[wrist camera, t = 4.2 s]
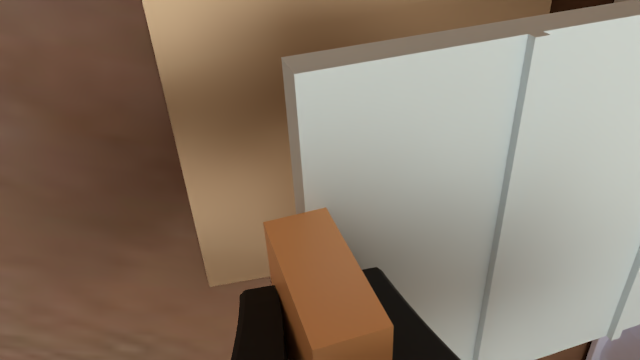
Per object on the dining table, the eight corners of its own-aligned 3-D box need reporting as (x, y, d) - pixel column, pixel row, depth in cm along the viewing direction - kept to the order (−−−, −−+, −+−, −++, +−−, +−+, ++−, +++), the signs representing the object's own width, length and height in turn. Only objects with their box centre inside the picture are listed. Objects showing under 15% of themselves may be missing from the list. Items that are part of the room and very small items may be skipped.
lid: (854, -37, 12) (1104, 6, 9) (702, 278, 17) (826, 371, 14) (234, 65, 9) (297, 185, 6) (285, 414, 14) (331, 571, 11)
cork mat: (503, 228, 22) (507, 234, 21) (209, 279, 20) (209, 287, 20) (569, -140, 15) (578, -139, 14) (119, -105, 13) (117, -104, 13)
